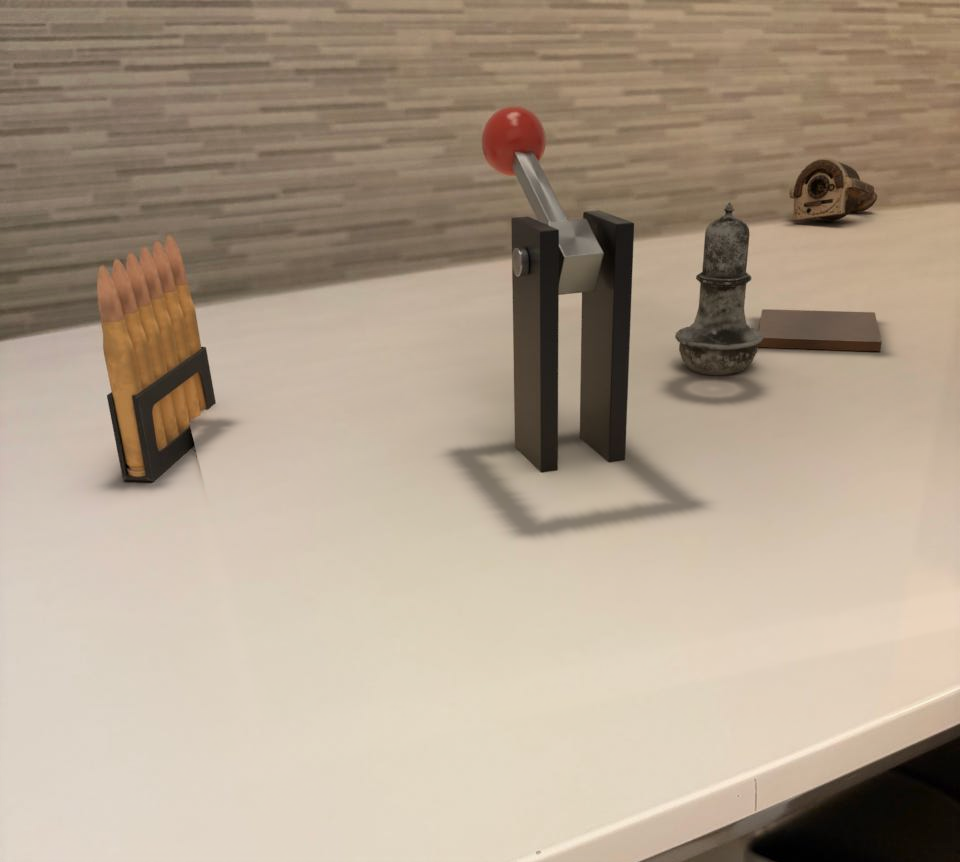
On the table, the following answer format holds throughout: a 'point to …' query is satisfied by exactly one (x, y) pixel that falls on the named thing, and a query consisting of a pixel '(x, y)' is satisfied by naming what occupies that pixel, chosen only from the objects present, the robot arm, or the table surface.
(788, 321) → the coaster
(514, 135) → the lever
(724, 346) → the salt shaker
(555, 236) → the bracket
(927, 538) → the table surface
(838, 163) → the mechanical counter
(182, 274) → the ammunition clip
